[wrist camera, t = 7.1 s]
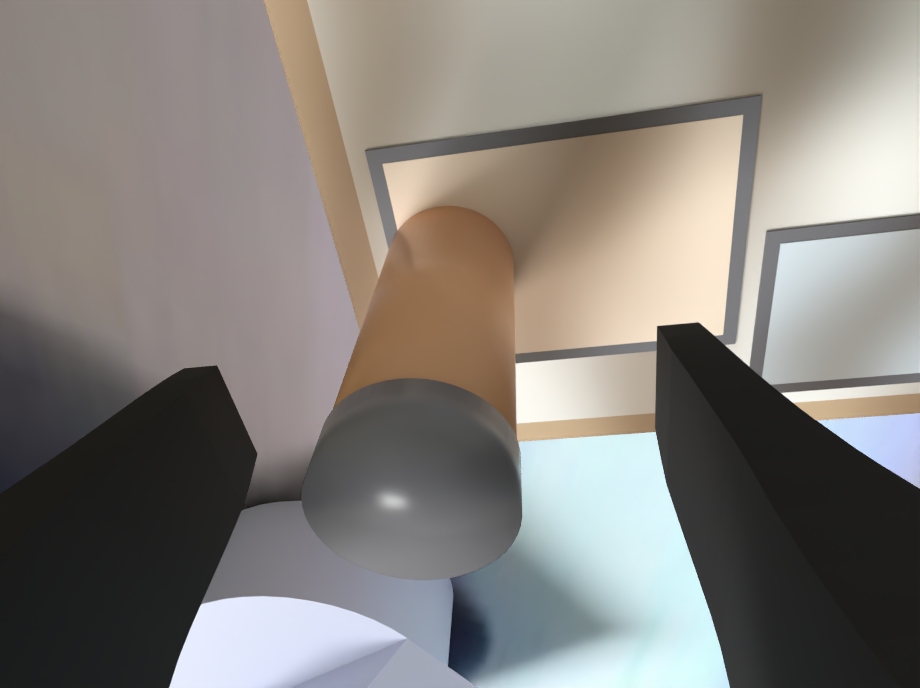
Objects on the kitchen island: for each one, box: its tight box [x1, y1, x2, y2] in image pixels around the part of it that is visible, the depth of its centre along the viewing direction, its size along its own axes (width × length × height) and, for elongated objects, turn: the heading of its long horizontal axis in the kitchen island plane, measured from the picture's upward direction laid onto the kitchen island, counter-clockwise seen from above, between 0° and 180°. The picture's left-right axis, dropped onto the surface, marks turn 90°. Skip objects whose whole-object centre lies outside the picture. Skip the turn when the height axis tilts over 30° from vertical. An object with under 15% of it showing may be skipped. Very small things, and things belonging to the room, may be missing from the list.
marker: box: [301, 206, 522, 580], centre depth 11 cm, size 3×3×7 cm
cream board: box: [264, 0, 920, 442], centre depth 13 cm, size 16×13×1 cm
